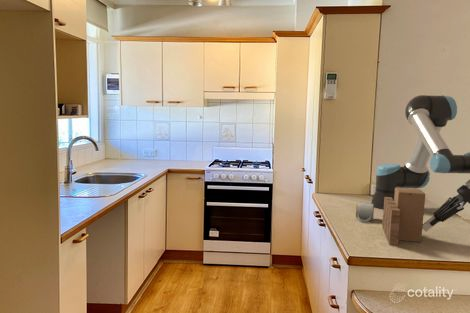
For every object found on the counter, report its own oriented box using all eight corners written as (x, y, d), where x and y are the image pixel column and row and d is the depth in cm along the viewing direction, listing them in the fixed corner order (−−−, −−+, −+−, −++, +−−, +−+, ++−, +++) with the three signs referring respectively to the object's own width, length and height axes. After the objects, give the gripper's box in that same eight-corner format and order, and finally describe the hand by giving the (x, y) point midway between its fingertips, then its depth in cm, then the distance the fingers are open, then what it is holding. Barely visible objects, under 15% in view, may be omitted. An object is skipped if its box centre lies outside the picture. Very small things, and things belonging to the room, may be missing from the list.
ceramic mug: (355, 216, 192) (356, 200, 191) (373, 218, 190) (374, 202, 189) (354, 222, 183) (355, 206, 182) (373, 224, 180) (374, 208, 179)
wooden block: (421, 242, 155) (425, 193, 153) (394, 239, 158) (398, 191, 155) (416, 234, 165) (420, 188, 162) (391, 232, 167) (394, 187, 165)
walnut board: (382, 227, 175) (384, 196, 173) (389, 227, 174) (391, 197, 172) (389, 244, 152) (391, 210, 150) (397, 245, 151) (400, 210, 149)
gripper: (485, 201, 146) (433, 240, 152) (473, 194, 159) (426, 231, 165) (470, 187, 147) (420, 226, 153) (459, 181, 160) (413, 218, 165)
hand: (423, 228), depth 159 cm, fingers closed
